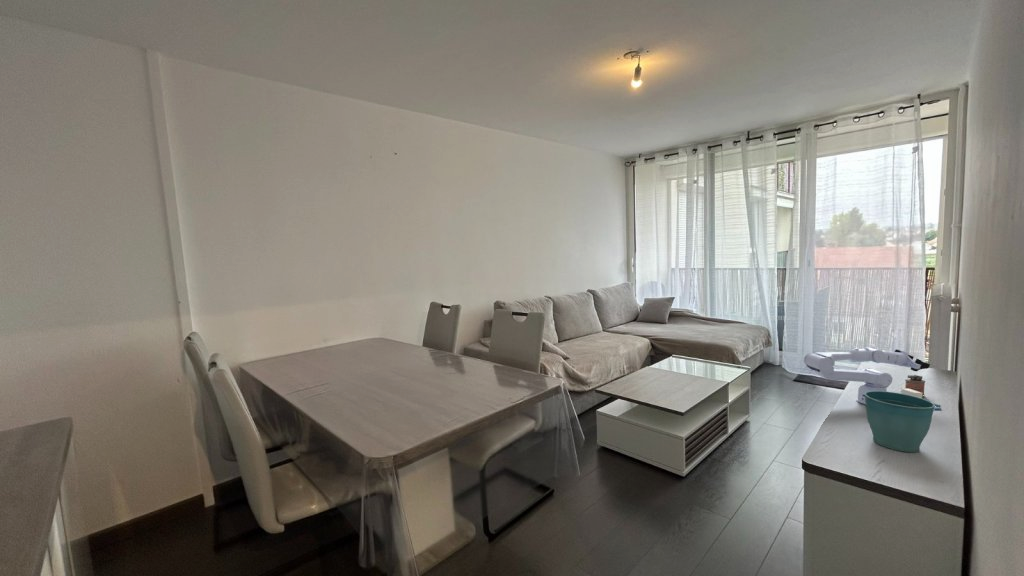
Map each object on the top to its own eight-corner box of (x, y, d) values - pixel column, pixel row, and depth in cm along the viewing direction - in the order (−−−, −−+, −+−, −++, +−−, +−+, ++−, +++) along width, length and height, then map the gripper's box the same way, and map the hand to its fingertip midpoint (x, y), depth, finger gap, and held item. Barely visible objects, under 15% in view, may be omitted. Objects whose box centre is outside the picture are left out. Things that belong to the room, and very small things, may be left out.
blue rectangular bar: (930, 410, 177) (930, 408, 177) (927, 409, 178) (927, 407, 178) (940, 409, 177) (941, 408, 177) (938, 408, 178) (938, 407, 178)
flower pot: (861, 429, 157) (863, 387, 156) (927, 443, 145) (930, 397, 144) (862, 446, 143) (865, 400, 142) (935, 462, 131) (939, 412, 130)
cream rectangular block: (913, 408, 179) (914, 392, 178) (900, 403, 185) (901, 388, 184) (921, 408, 179) (922, 392, 179) (907, 403, 185) (908, 388, 185)
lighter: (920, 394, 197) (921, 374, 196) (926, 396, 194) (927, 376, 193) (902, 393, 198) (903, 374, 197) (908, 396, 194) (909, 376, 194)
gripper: (910, 356, 175) (940, 361, 175) (881, 343, 189) (909, 347, 189) (903, 371, 177) (933, 375, 177) (875, 356, 191) (902, 361, 191)
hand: (920, 362), depth 183 cm, fingers open, 7 cm apart
